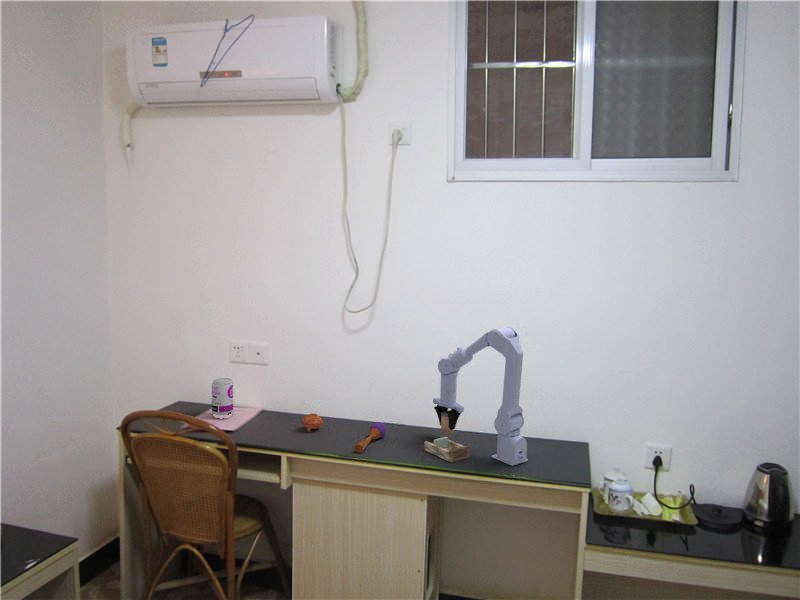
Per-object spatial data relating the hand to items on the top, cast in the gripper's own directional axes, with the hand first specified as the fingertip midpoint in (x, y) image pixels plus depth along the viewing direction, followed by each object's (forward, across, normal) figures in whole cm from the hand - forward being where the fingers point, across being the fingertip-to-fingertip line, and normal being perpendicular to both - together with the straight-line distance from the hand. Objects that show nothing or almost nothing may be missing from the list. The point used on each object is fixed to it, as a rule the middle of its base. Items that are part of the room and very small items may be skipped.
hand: (447, 427), depth 212 cm
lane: (+5, +10, -9) cm, 14 cm away
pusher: (+4, +7, -9) cm, 12 cm away
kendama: (+5, -13, -25) cm, 29 cm away
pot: (+5, -37, -35) cm, 51 cm away
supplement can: (+5, -71, -57) cm, 91 cm away
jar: (+2, 0, 0) cm, 2 cm away
